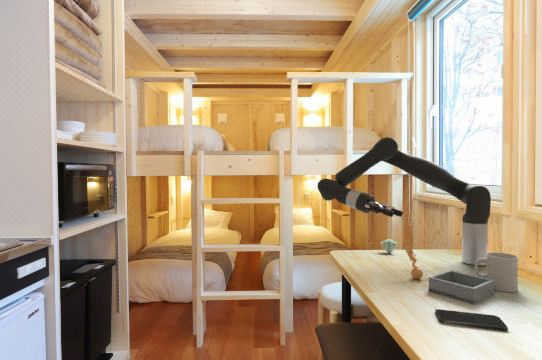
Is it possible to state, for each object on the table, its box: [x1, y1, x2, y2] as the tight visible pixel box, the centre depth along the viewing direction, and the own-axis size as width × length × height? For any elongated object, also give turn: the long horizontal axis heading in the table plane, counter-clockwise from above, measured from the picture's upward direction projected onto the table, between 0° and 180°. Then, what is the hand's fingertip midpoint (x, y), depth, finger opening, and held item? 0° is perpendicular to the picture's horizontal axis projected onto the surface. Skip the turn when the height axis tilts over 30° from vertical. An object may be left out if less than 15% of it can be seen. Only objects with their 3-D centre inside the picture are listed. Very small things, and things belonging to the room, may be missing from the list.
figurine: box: [404, 244, 424, 280], centre depth 120 cm, size 8×6×12 cm
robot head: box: [380, 238, 399, 254], centre depth 159 cm, size 8×4×7 cm, turn 66°
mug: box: [474, 251, 519, 294], centre depth 110 cm, size 12×8×11 cm
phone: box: [434, 308, 509, 332], centre depth 85 cm, size 8×1×15 cm
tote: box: [428, 269, 495, 305], centre depth 105 cm, size 14×14×4 cm
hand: (397, 214), depth 123 cm, fingers open, 8 cm apart
